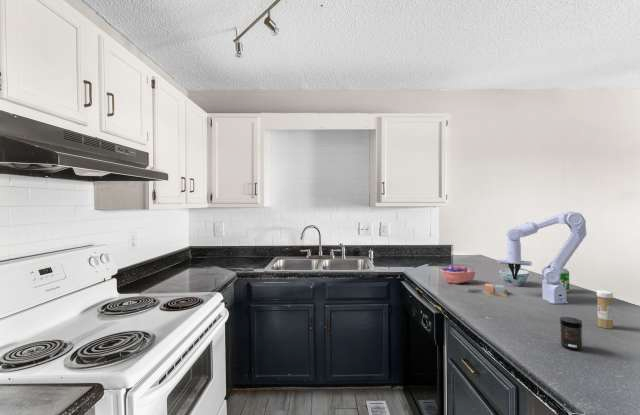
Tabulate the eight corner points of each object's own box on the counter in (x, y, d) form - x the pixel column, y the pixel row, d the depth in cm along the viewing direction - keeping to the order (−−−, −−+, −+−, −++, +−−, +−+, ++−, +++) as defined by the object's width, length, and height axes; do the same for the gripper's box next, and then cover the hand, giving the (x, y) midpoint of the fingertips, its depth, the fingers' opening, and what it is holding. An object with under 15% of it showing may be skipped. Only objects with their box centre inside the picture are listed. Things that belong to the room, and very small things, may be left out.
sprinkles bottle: (594, 324, 122) (593, 290, 122) (604, 324, 122) (604, 289, 122) (605, 329, 117) (605, 293, 117) (617, 328, 118) (616, 292, 118)
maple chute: (508, 292, 168) (508, 288, 168) (508, 299, 156) (508, 295, 156) (467, 288, 178) (467, 284, 178) (464, 294, 166) (464, 290, 166)
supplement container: (579, 345, 105) (579, 318, 105) (585, 352, 100) (585, 324, 100) (558, 342, 108) (557, 315, 108) (562, 349, 102) (562, 321, 102)
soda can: (553, 292, 166) (552, 269, 166) (550, 289, 172) (550, 267, 172) (571, 294, 162) (570, 270, 162) (567, 290, 169) (567, 268, 169)
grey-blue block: (504, 292, 165) (503, 285, 165) (504, 295, 160) (503, 287, 160) (495, 292, 167) (495, 284, 167) (495, 294, 162) (494, 286, 162)
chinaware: (535, 287, 176) (535, 273, 176) (508, 288, 176) (508, 274, 176) (519, 281, 191) (518, 268, 191) (494, 281, 191) (493, 268, 191)
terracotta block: (494, 291, 167) (493, 284, 167) (493, 294, 163) (493, 286, 163) (485, 291, 169) (485, 283, 169) (485, 293, 165) (484, 285, 165)
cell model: (480, 287, 180) (479, 267, 180) (443, 286, 183) (443, 267, 183) (470, 280, 197) (470, 262, 197) (437, 279, 200) (436, 262, 200)
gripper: (530, 251, 160) (531, 278, 160) (497, 250, 167) (498, 276, 167) (531, 253, 154) (532, 281, 154) (497, 252, 161) (498, 278, 161)
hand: (514, 278), depth 160 cm, fingers closed
